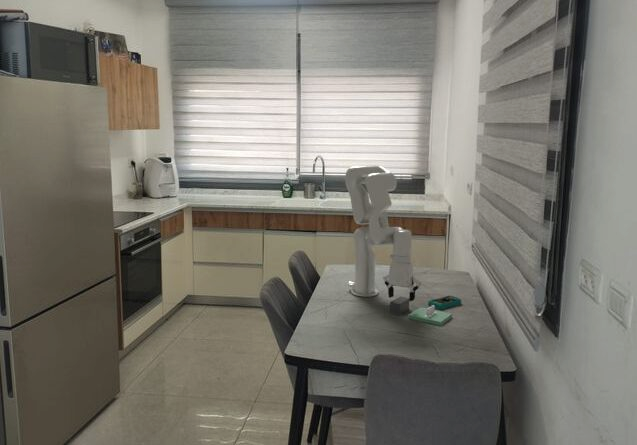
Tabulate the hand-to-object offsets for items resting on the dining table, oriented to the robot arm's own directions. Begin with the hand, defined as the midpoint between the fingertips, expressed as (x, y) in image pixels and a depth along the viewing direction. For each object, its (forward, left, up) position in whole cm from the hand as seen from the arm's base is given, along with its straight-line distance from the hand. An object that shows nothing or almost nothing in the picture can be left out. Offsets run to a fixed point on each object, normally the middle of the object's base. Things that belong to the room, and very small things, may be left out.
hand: (401, 298), depth 231 cm
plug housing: (-1, 0, -6) cm, 6 cm away
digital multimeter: (+11, +20, -6) cm, 24 cm away
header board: (+13, 0, -6) cm, 14 cm away
